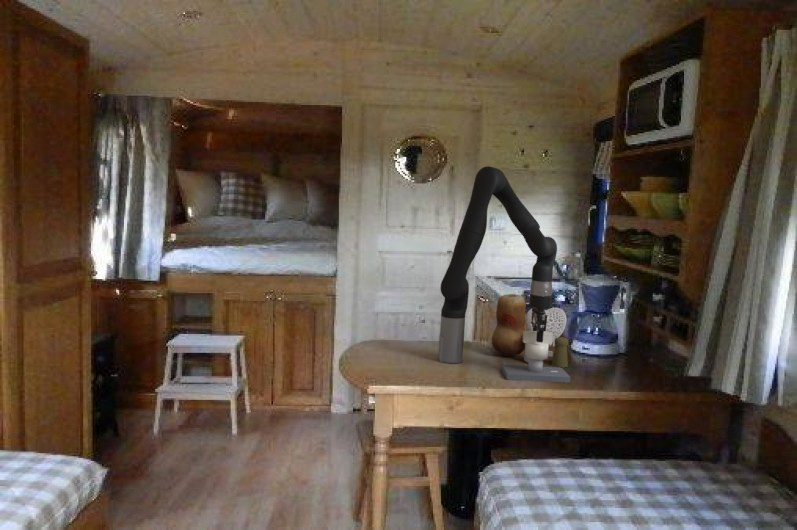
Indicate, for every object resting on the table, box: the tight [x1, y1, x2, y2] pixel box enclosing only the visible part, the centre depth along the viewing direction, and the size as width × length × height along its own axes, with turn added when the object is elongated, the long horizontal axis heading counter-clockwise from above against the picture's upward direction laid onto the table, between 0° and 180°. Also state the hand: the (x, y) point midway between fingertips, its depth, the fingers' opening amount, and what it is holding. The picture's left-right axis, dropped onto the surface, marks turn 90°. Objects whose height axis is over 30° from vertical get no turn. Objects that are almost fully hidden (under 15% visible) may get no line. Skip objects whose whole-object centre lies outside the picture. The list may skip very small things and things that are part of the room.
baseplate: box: [501, 358, 571, 384], centre depth 219 cm, size 22×12×7 cm, turn 90°
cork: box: [551, 336, 569, 369], centre depth 235 cm, size 6×6×11 cm
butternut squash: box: [491, 293, 527, 357], centre depth 245 cm, size 14×13×25 cm
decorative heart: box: [525, 307, 568, 347], centre depth 265 cm, size 18×11×17 cm, turn 98°
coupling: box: [523, 330, 554, 361], centre depth 219 cm, size 11×8×9 cm
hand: (537, 339), depth 218 cm, fingers open, 6 cm apart
